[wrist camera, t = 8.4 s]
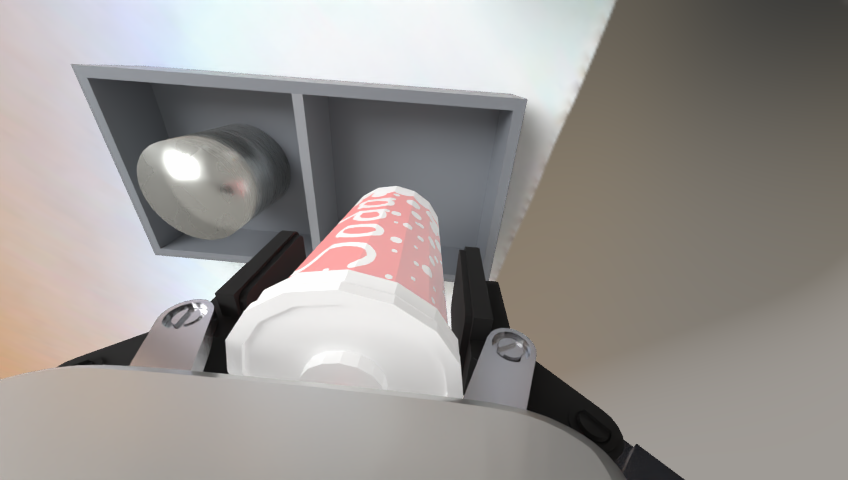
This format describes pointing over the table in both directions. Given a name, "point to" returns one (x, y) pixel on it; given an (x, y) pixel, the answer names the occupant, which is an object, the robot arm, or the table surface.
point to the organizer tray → (320, 150)
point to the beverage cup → (359, 307)
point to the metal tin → (213, 179)
